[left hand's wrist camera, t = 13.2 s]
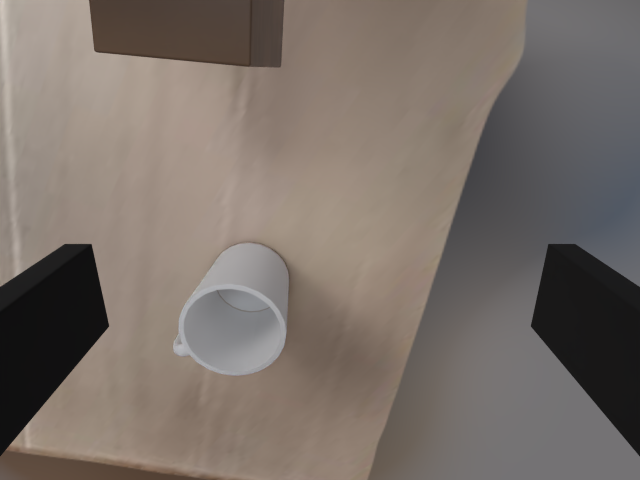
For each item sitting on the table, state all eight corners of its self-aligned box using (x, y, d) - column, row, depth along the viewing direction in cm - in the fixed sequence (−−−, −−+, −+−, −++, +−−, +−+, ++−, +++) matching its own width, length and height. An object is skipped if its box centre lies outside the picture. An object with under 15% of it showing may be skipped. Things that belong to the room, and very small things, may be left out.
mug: (266, 222, 42) (250, 265, 33) (308, 292, 45) (305, 350, 36) (175, 268, 44) (135, 322, 35) (221, 332, 47) (196, 398, 37)
